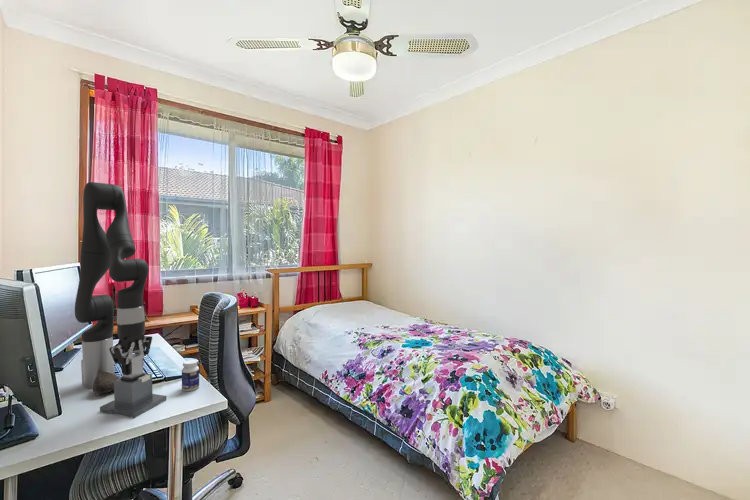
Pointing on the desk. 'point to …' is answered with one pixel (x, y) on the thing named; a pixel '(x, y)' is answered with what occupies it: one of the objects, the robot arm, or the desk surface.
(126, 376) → the column
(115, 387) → the stand
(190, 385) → the pill bottle
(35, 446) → the desk surface
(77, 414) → the desk surface
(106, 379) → the stone
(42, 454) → the desk surface
